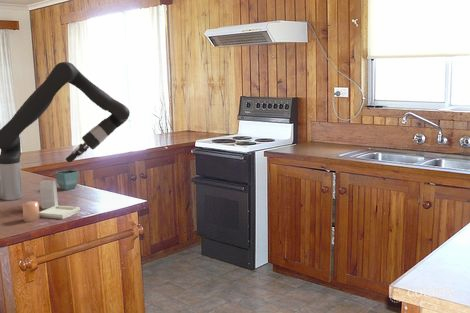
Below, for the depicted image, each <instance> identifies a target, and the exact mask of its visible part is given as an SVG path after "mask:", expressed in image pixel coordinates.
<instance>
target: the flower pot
mask: <svg viewBox="0 0 470 313" xmlns="http://www.w3.org/2000/svg"><path fill="white" fill-rule="evenodd" d="M54 175H55V180H56V184H58V187H59V188H60V189H61V190H65V191H68V190H73V189H76V187H77V185H78V183H79V177H80V172H79V171H78V170H73V169H67V170H60V171H59V170H58V171H54Z"/></svg>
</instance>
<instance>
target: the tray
mask: <svg viewBox="0 0 470 313" xmlns="http://www.w3.org/2000/svg"><path fill="white" fill-rule="evenodd" d="M79 212H81V208H80V206H70V205H69V206H68V205H59V204H58V205H56V206H53V207H51V208H45V209H42V210H41V211H39V218H48V219H57V220H58V219H60V220H64V219H66V218H68V217H71V216H72V215H75V214H77V213H79Z"/></svg>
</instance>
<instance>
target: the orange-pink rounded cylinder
mask: <svg viewBox="0 0 470 313" xmlns="http://www.w3.org/2000/svg"><path fill="white" fill-rule="evenodd" d="M39 212H40V205H39V202H38V201H36V200H35V201H34V200H32V201H24V202H22V214H23V215H22V216H23V221H24V222H26V223H30V222H31V223H32V222H37V221H39V220H40V219H41V217H39Z"/></svg>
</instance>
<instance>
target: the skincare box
mask: <svg viewBox="0 0 470 313" xmlns="http://www.w3.org/2000/svg"><path fill="white" fill-rule="evenodd" d="M39 190H40V191H39V192H40V204H41V209H42V210H44V209H48V208H51V207H53V206H56V205H59V202H58V189H57V180H56V179H47V180H45V179H43V180H41V181H39Z"/></svg>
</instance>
